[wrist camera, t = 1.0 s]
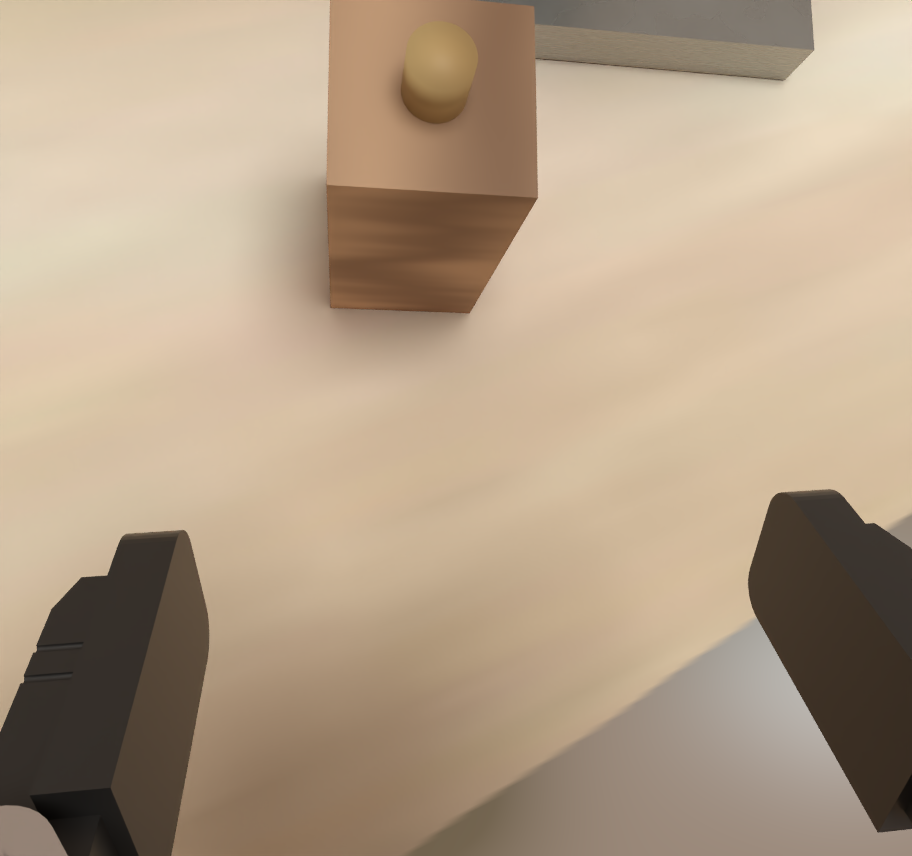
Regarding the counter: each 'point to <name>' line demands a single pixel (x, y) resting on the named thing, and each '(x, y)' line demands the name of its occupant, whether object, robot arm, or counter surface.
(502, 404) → the counter surface
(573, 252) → the counter surface
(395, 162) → the block
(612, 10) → the press
